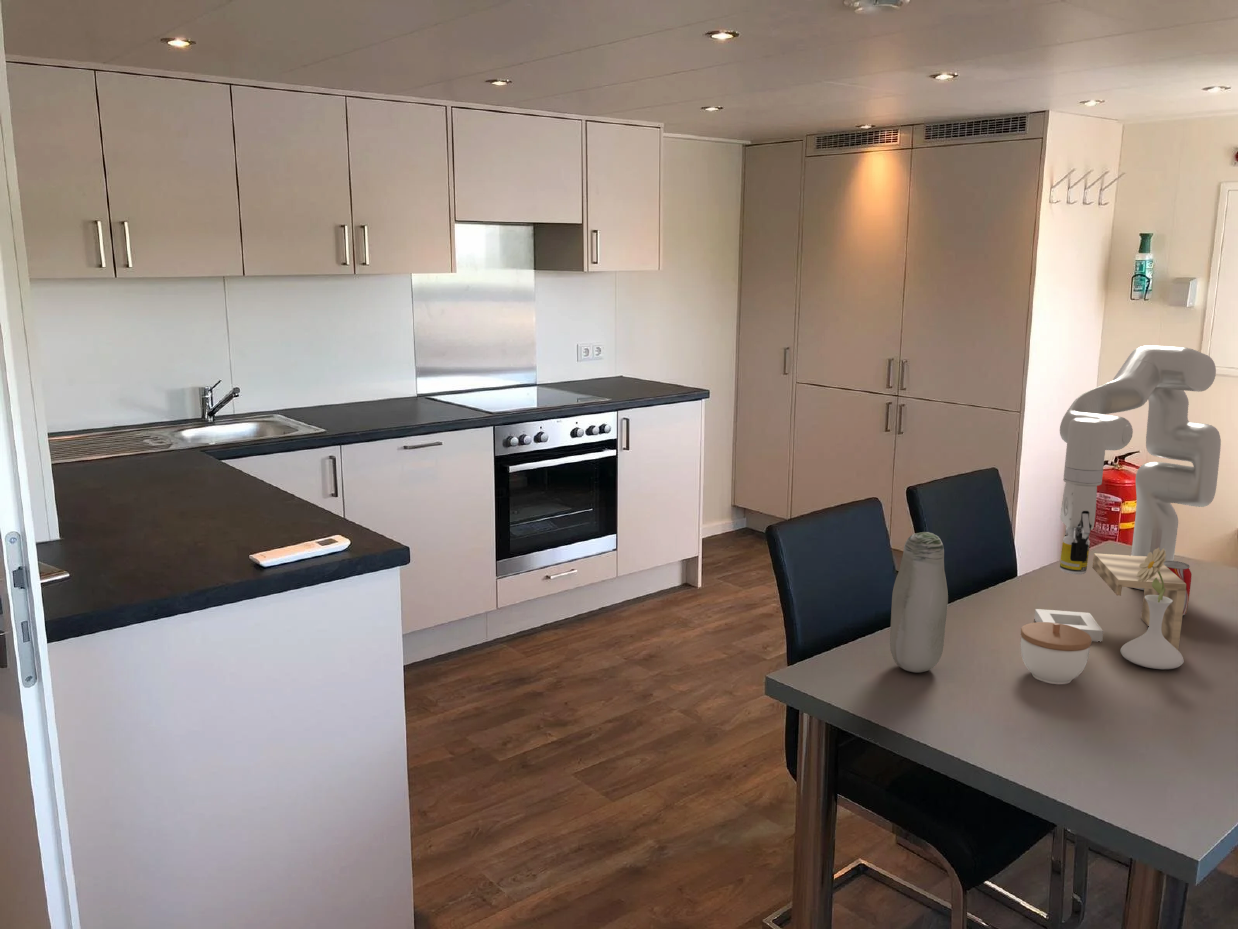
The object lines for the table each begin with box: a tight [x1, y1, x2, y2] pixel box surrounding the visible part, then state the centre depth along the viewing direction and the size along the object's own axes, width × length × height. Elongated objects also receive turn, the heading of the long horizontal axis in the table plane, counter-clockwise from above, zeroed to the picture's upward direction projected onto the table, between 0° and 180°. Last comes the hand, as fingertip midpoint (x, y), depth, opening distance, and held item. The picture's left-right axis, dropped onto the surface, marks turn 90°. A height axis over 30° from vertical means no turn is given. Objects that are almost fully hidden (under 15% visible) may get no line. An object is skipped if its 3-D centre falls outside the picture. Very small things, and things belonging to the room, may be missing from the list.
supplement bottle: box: [1059, 526, 1091, 575], centre depth 214 cm, size 5×5×10 cm
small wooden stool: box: [1091, 553, 1186, 651], centre depth 216 cm, size 20×13×15 cm, turn 168°
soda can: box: [1164, 560, 1192, 616], centre depth 228 cm, size 7×7×12 cm
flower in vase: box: [1120, 548, 1185, 670], centre depth 197 cm, size 13×11×25 cm
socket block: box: [1034, 608, 1104, 643], centre depth 218 cm, size 12×12×2 cm
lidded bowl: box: [1020, 621, 1093, 685], centre depth 192 cm, size 13×13×11 cm
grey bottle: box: [889, 531, 949, 673], centre depth 193 cm, size 10×10×28 cm
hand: (1074, 556), depth 215 cm, fingers closed on supplement bottle, 5 cm apart
